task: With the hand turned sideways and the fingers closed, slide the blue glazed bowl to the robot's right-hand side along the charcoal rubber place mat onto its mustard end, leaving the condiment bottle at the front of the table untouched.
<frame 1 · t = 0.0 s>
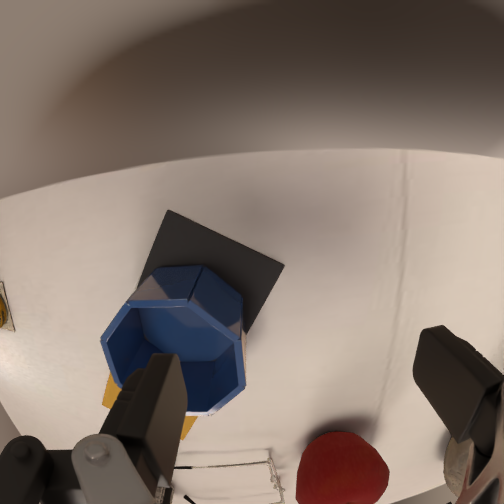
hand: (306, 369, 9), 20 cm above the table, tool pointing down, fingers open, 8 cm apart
glazed bowl: (188, 317, 29), resting on place mat
bowl: (478, 419, 37), on the table
place mat: (173, 351, 31), on the table
beverage can: (158, 482, 38), on the table
eyeglasses: (223, 476, 37), on the table
apple: (330, 440, 35), on the table
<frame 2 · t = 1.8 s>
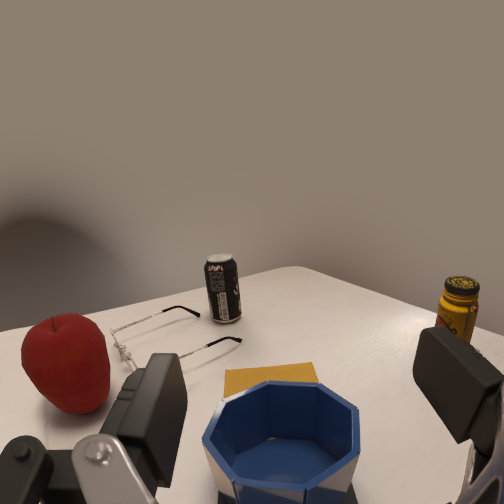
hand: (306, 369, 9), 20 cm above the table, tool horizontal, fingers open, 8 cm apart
glazed bowl: (284, 480, 21), resting on place mat
place mat: (279, 444, 26), on the table
condiment: (449, 356, 35), on the table
beverage can: (226, 319, 56), on the table
eyeglasses: (173, 348, 46), on the table
apple: (86, 404, 32), on the table
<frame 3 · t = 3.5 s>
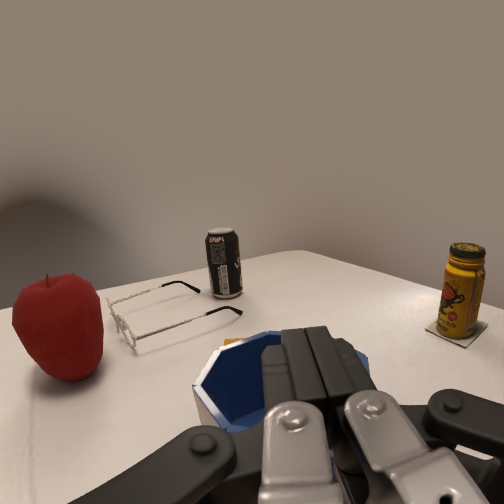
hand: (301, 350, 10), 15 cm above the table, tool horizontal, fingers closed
glazed bowl: (285, 448, 21), resting on place mat
condiment: (457, 329, 34), on the table
beverage can: (227, 295, 55), on the table
eyeglasses: (171, 320, 46), on the table
apple: (77, 372, 31), on the table
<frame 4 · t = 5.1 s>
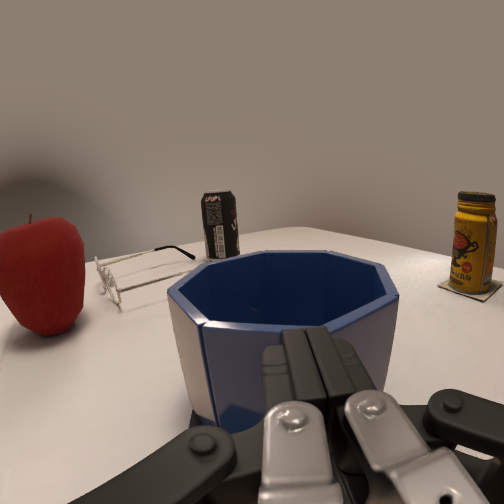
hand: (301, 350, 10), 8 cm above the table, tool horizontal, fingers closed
glazed bowl: (286, 399, 18), resting on place mat, touching gripper
condiment: (472, 287, 31), on the table
beverage can: (223, 260, 52), on the table
eyeglasses: (162, 282, 43), on the table
apple: (55, 328, 29), on the table
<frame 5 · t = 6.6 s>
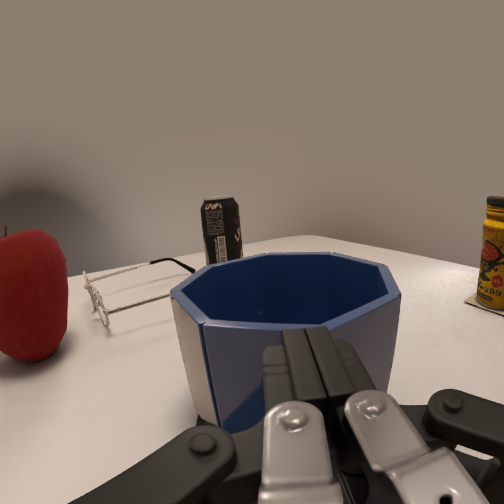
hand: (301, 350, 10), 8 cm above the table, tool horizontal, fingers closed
glazed bowl: (289, 401, 17), resting on place mat, touching gripper
condiment: (499, 301, 26), on the table
beverage can: (226, 274, 47), on the table
eyeglasses: (158, 300, 38), on the table
apple: (37, 353, 24), on the table
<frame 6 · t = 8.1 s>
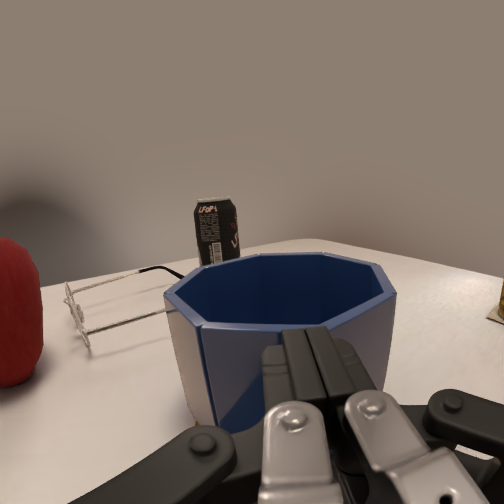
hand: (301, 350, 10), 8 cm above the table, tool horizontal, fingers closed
glazed bowl: (285, 401, 17), resting on place mat, touching gripper
beverage can: (222, 284, 43), on the table
eyeglasses: (146, 314, 34), on the table
apple: (13, 376, 19), on the table
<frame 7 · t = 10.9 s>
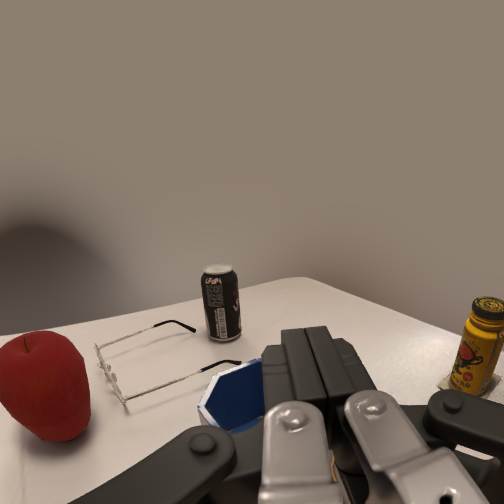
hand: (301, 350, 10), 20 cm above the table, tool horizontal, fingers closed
glazed bowl: (272, 454, 24), resting on place mat
condiment: (470, 384, 29), on the table
beverage can: (225, 336, 50), on the table
eyeglasses: (164, 368, 40), on the table
apple: (66, 429, 26), on the table
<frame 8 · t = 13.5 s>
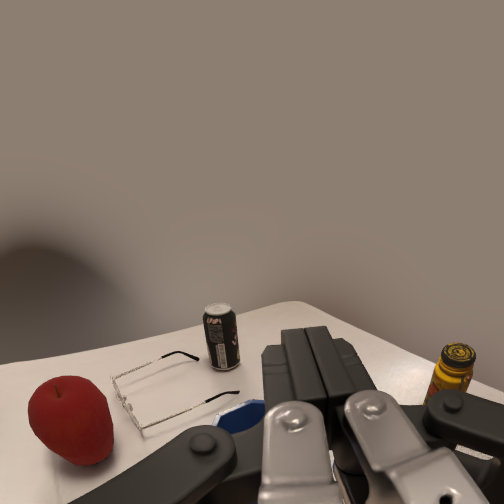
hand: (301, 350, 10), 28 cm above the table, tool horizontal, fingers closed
glazed bowl: (264, 473, 29), resting on place mat
condiment: (440, 414, 34), on the table
beverage can: (225, 364, 54), on the table
eyeglasses: (173, 396, 45), on the table
apple: (91, 453, 31), on the table
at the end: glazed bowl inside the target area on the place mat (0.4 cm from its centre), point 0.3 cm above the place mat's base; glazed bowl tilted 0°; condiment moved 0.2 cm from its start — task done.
